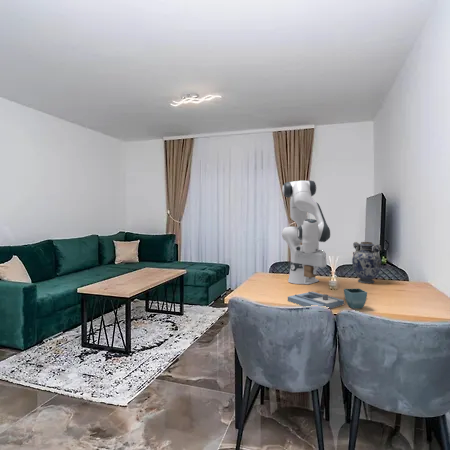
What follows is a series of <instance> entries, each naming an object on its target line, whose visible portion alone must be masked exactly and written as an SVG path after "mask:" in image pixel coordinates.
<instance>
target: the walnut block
mask: <svg viewBox="0 0 450 450" xmlns="http://www.w3.org/2000/svg"><path fill="white" fill-rule="evenodd" d="M313 270H314V266H310V265H305V266H304V276H305V277H309V278H312V277H315V278H316V277H317V273H316V274H312V271H313Z"/></svg>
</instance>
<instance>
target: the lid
mask: <svg viewBox="0 0 450 450" xmlns="http://www.w3.org/2000/svg"><path fill="white" fill-rule="evenodd" d="M322 294H323V293H322ZM328 296H329V294H327V293H326V294H325V293H324V294H323V297H319V298H315V299H313V300H316V301H320V302H323V303H326V304H329V303H333V302H337V301H338V300H335V299H332V298H328Z"/></svg>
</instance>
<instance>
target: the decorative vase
mask: <svg viewBox="0 0 450 450" xmlns="http://www.w3.org/2000/svg"><path fill="white" fill-rule="evenodd" d="M352 246H353V248H354V249H355V251H354V253H353V255H352V259H351V263H352V268H353V271H354V273H355V274H356V276H357V277H358V278H359V279H358V280H357V282H358V283H360V284H369V285H370V284H374V283H375V281H374V280H373V279H375V278H376V277H377V276H378V274H380V271H381V268H382V258H381V255H380V252H381V251H382V245H381V244H376V245H375V244H374V243H373V242H370V241H361V242H360V243H359V242H358V241H354V242H353V245H352Z"/></svg>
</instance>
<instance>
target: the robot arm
mask: <svg viewBox="0 0 450 450" xmlns="http://www.w3.org/2000/svg"><path fill="white" fill-rule="evenodd" d="M281 191H282V194H283V196H284V197H285V198H289V209H290V211H289V212H290V216H289V217H290V219H291V220H292V221H293V222H295V224H296V226H285V227H284V228H283V229H282V231H281V237H282V239H283V240H284V241H285V242H286V243H287V245H288V247H289V251H290V262H289V267H290V268H289V276H288V279H287V281H288V283H291V284H294V285H295V284H296V285H311V284H315V283H317V282H319V281H320V279H318V278H316V277H312V278H309V277H305V276H304V266H305V265H310V266H314V270H313V271H312V274H316V275H317V271H318V269H319V268H320V269H321V268H326V267H327V254H326V252H325V251H324V249H320V248H319V246H320V245H319V243H326V242H327V241H328V240H329V239H330V237H331V229H330V226H329V225H328V223H327V222H326V219H325V216H324V214H323V213H324V212H323V210H322V207H321V206H320V204H319V203H318V202H317V201H315V200H314V198H313V196H314V195H315V194H316V193H317V184H316V182H315V181H314V180H295V181H286V182H284V183H283V185H282V189H281ZM308 214H311V215H313V216H314V217H315V219H313V218H308Z"/></svg>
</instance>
